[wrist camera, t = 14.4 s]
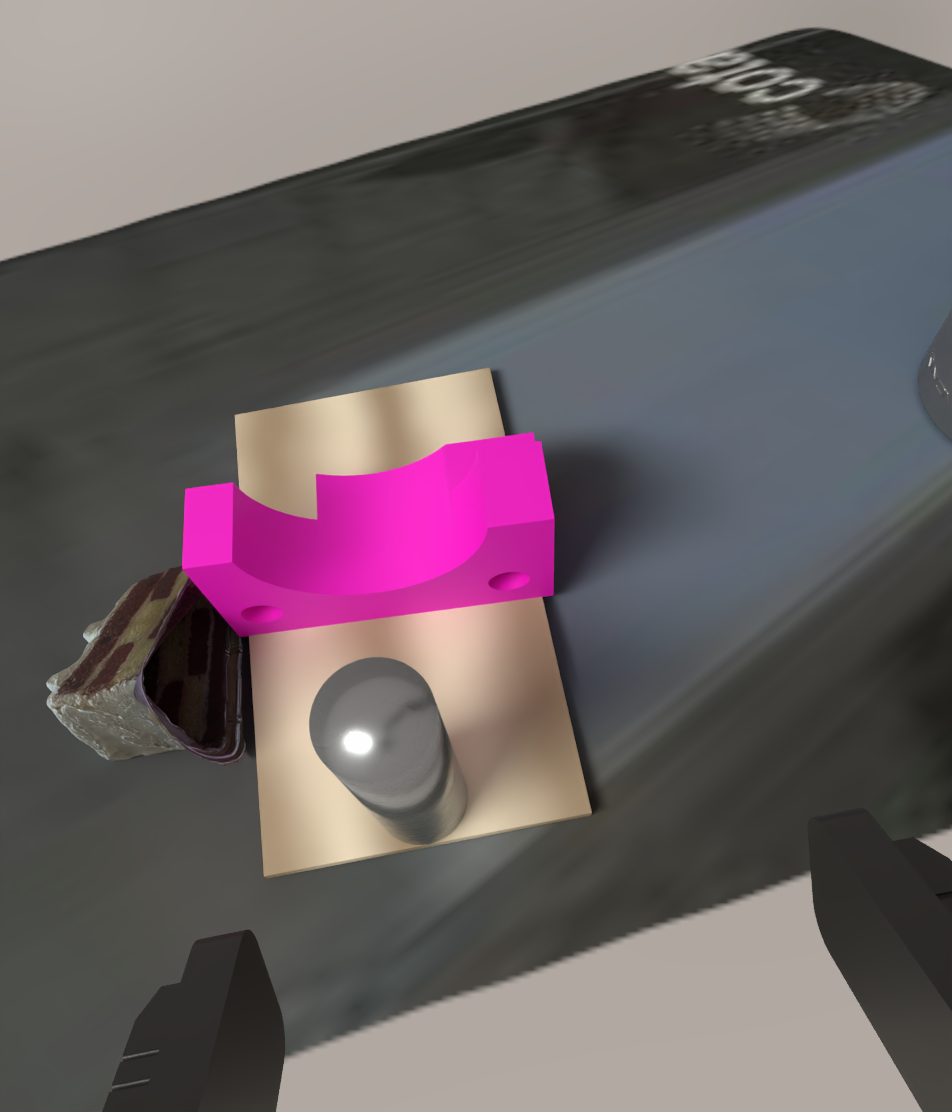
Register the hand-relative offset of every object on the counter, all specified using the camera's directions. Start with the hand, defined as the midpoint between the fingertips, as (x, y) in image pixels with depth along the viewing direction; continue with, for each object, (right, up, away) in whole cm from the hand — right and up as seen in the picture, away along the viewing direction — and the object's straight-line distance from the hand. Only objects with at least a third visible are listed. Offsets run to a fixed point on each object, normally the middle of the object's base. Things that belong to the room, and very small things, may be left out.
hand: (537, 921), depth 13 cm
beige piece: (-5, +3, +31) cm, 31 cm away
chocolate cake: (-16, 0, +31) cm, 34 cm away
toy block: (-5, +5, +31) cm, 32 cm away
